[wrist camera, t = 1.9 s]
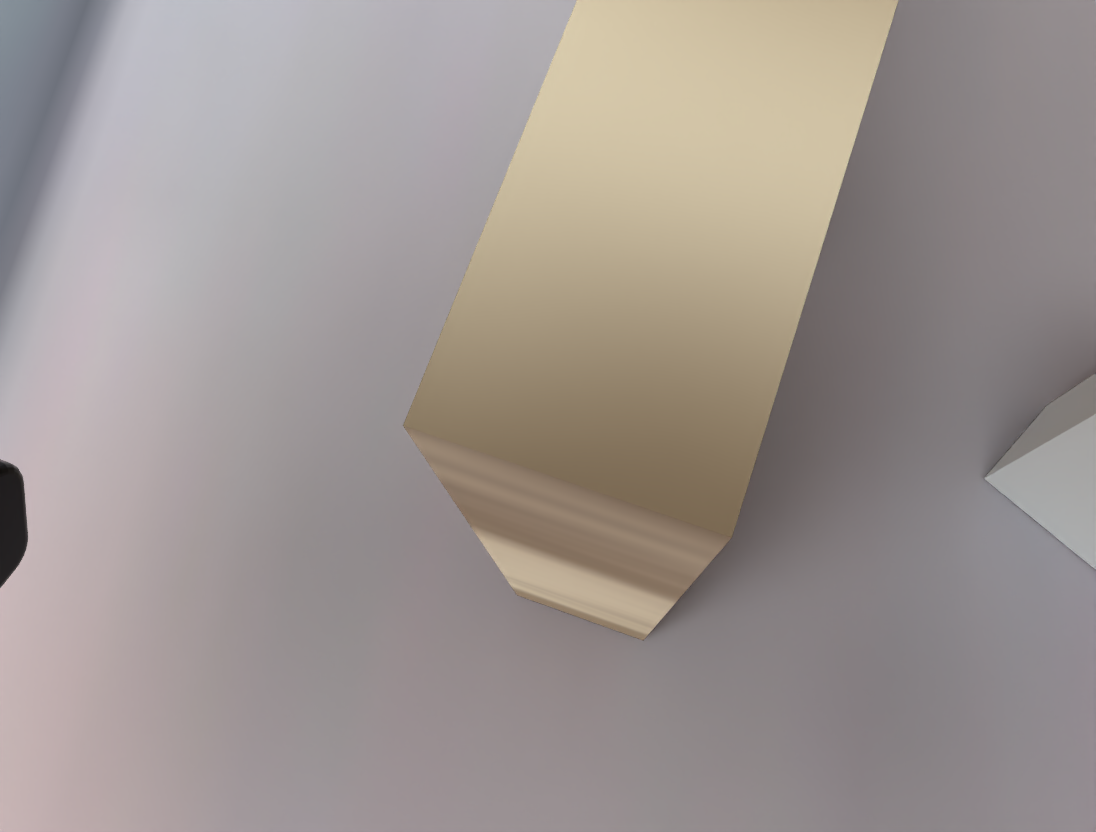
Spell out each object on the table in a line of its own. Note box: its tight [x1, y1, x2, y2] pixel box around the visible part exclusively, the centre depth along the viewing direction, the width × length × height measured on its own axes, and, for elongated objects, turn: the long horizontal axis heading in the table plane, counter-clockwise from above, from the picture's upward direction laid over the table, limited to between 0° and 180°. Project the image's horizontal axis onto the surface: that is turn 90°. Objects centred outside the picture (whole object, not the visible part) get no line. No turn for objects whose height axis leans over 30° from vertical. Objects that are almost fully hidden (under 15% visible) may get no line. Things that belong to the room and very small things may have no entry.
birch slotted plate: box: [403, 0, 898, 640], centre depth 14 cm, size 12×2×12 cm, turn 160°
